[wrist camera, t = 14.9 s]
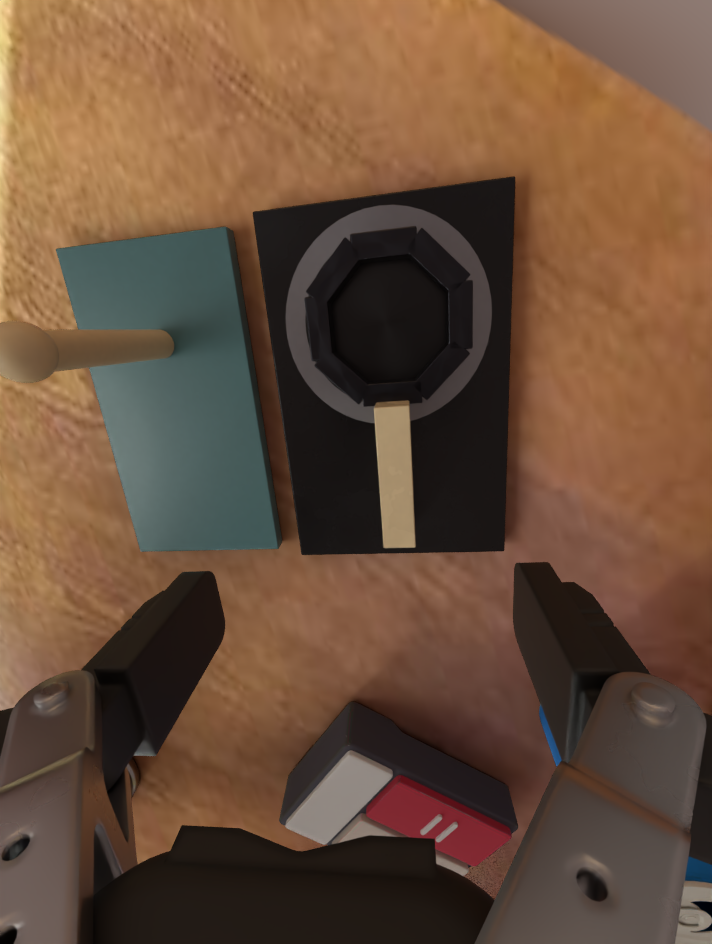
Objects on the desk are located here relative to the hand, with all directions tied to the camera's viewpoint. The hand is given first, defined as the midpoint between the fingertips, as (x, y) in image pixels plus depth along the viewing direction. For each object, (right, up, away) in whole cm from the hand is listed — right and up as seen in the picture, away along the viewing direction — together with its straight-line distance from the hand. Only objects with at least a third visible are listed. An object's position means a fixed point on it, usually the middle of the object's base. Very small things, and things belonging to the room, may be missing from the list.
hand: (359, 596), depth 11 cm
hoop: (+2, +8, +12) cm, 15 cm away
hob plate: (+2, +8, +14) cm, 16 cm away
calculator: (+3, -22, +24) cm, 33 cm away
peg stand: (-11, +7, +15) cm, 20 cm away
